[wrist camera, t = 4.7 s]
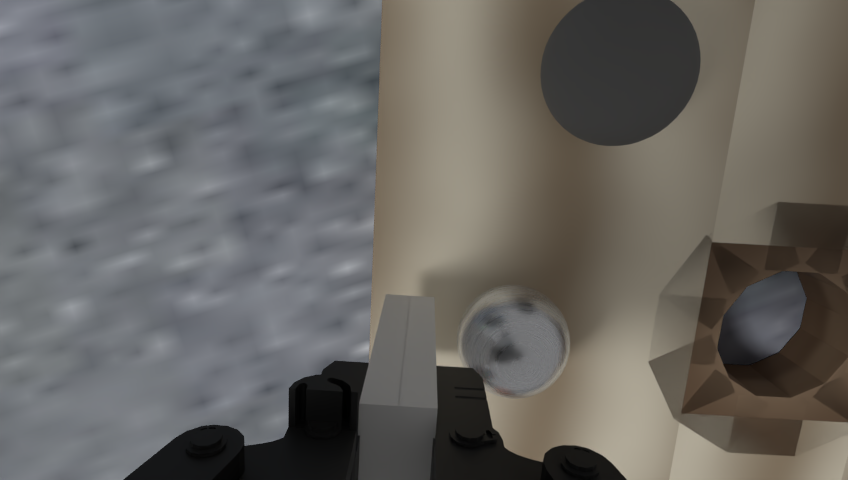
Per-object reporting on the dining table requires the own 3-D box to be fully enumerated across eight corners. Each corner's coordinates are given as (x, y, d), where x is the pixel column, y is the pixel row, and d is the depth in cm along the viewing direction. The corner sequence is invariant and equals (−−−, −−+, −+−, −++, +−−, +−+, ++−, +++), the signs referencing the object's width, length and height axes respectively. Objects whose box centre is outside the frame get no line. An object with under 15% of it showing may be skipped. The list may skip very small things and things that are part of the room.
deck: (367, 536, 23) (360, 585, 21) (389, -25, 18) (384, -46, 16) (813, 560, 23) (858, 612, 21) (954, 9, 18) (1034, -7, 16)
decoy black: (535, 0, 16) (569, -36, 12) (670, 8, 16) (748, -26, 12) (522, 138, 17) (550, 145, 13) (650, 145, 17) (716, 155, 13)
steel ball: (457, 268, 18) (464, 303, 15) (561, 274, 18) (591, 310, 15) (450, 364, 19) (455, 417, 15) (550, 369, 19) (576, 424, 15)
